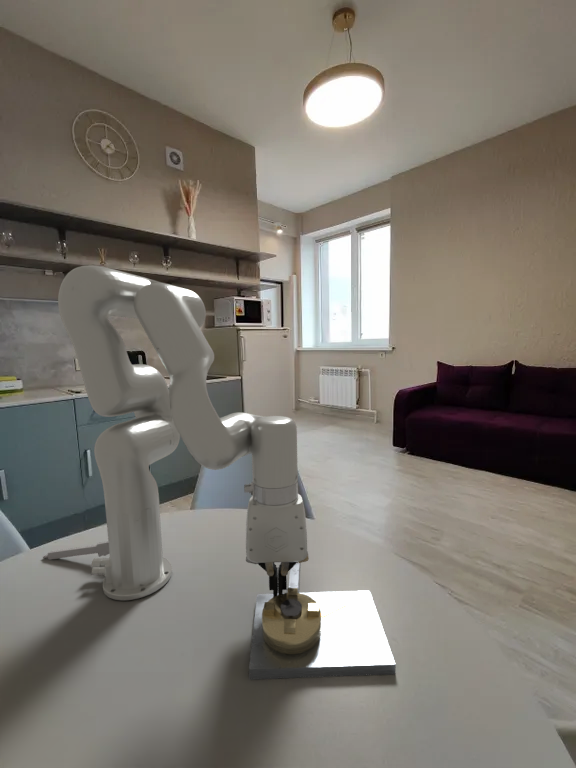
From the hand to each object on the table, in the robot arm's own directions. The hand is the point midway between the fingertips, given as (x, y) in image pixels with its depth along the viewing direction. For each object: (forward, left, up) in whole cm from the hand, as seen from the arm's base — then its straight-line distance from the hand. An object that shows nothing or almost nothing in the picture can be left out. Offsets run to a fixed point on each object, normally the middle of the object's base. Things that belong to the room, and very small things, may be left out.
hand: (278, 592), depth 62 cm
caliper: (-42, +16, -3) cm, 45 cm away
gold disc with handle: (+3, -1, -1) cm, 3 cm away
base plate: (+6, -6, -3) cm, 9 cm away
